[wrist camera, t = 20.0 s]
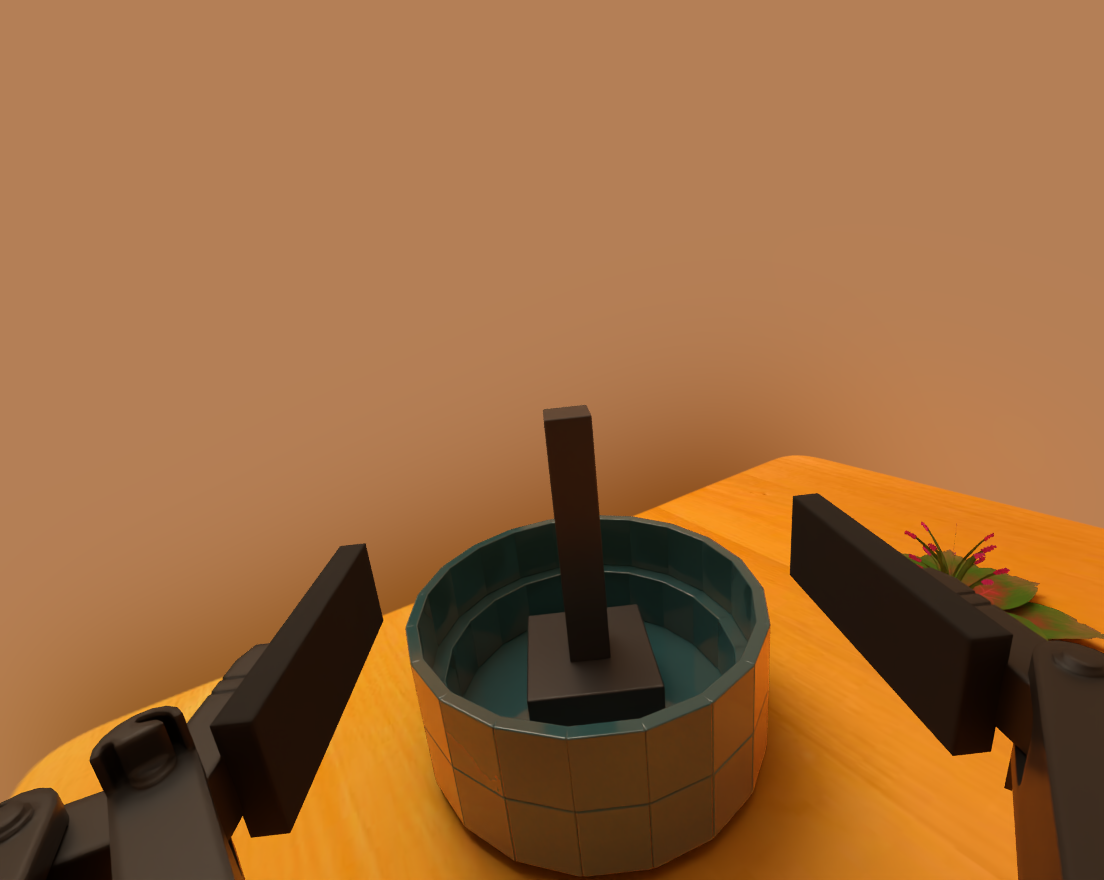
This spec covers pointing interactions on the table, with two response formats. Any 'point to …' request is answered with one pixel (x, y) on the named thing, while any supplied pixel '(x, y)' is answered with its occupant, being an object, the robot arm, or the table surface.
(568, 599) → the post on square base
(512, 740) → the bowl
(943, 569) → the lily flower
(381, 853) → the table surface
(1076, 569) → the table surface
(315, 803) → the table surface
